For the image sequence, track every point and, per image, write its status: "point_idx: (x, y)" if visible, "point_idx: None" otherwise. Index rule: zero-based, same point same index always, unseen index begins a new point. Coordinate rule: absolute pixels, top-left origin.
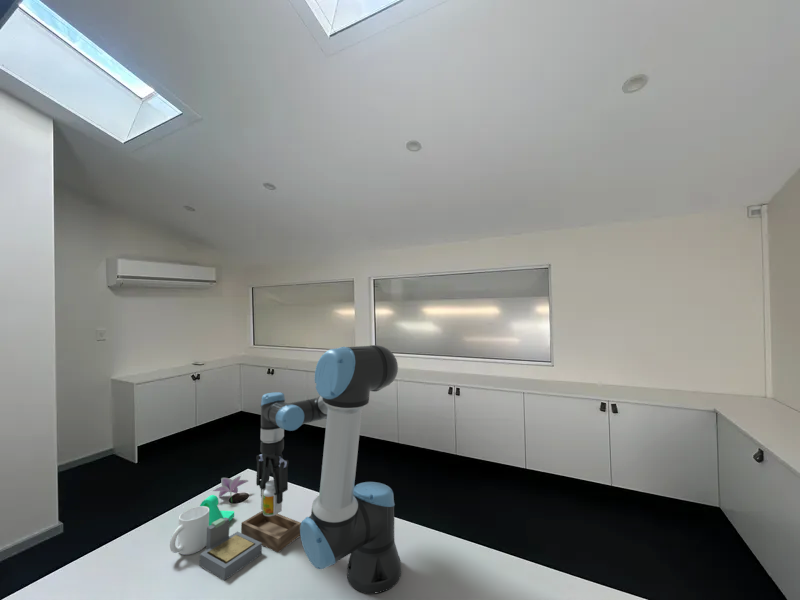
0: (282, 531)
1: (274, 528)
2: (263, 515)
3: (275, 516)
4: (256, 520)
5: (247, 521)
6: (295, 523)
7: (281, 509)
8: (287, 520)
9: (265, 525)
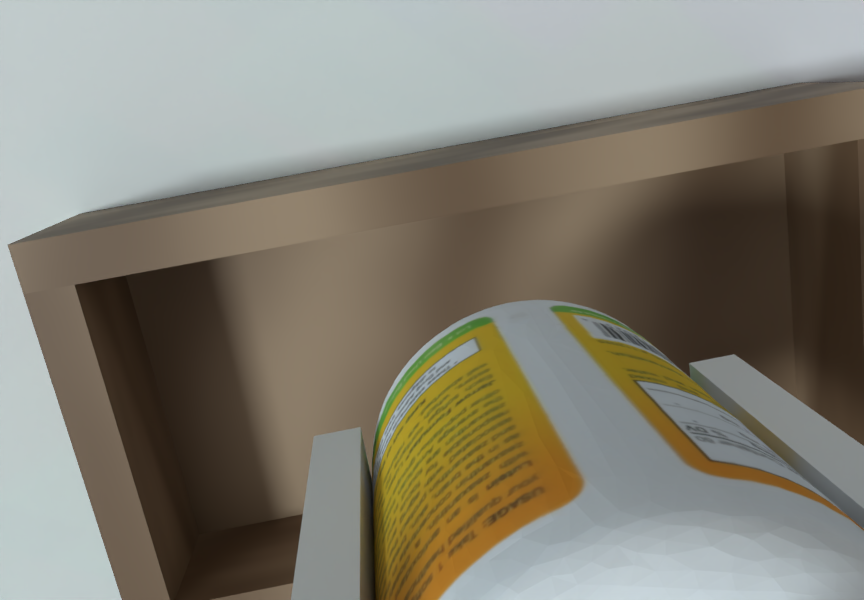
0: (593, 238)
1: (439, 270)
2: (102, 295)
3: (354, 229)
4: (141, 411)
5: (168, 584)
6: (826, 145)
7: (751, 369)
8: (642, 177)
9: (274, 317)
